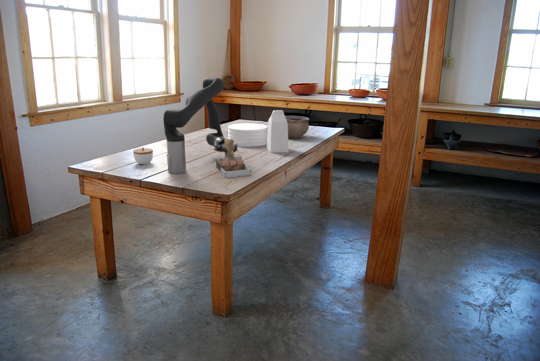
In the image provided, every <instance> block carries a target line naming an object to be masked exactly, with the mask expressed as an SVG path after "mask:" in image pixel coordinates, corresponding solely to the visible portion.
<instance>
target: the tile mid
mask: <svg viewBox="0 0 540 361" xmlns="http://www.w3.org/2000/svg"><path fill="white" fill-rule="evenodd" d="M228 161H229V165H236V160H228Z"/></svg>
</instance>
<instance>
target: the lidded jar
mask: <svg viewBox="0 0 540 361" xmlns="http://www.w3.org/2000/svg"><path fill="white" fill-rule="evenodd" d="M132 152H133V158H134V160H135V162H136V163H137V164H138V165H139V164H147V165H149V164H150V163H151V162H152V161H153V156H154V153H153V152H154V150H153V149H152V148H146V147H143V146H141V148H137V149H134V150H132ZM148 163H149V164H148Z"/></svg>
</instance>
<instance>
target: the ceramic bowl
mask: <svg viewBox="0 0 540 361" xmlns="http://www.w3.org/2000/svg"><path fill="white" fill-rule="evenodd" d="M285 118H286V120H287V123H288V139H297V138H302V137H303V136H305V134H307V132H309V131H308V130H309V128H310V126H309V125H310V124H309V121H310V118H309V117H306V116H300V115H285Z"/></svg>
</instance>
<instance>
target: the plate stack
mask: <svg viewBox="0 0 540 361" xmlns="http://www.w3.org/2000/svg"><path fill="white" fill-rule="evenodd" d="M227 129H228V130H227V137H228V138H227V139H232V140H234V145H235V144H237V147H242V148H243V147H249V148H250V147H261V146H265V145H267V135H268V124H267V125H266V124H262V123H252V122H247V123H246V122H243V123H240V122H239V123H233V124H229V125H228V126H227Z"/></svg>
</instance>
